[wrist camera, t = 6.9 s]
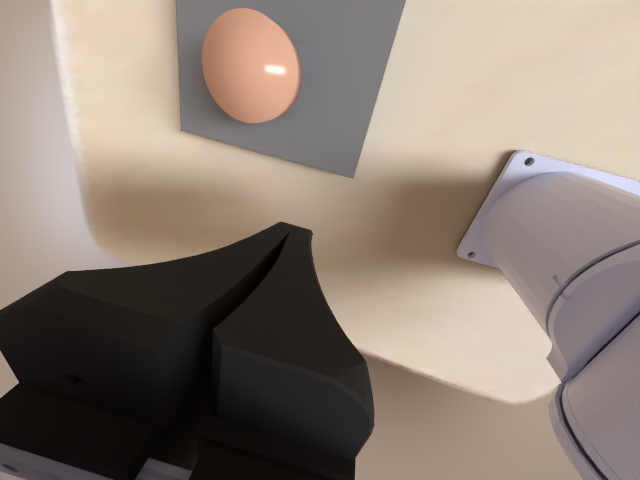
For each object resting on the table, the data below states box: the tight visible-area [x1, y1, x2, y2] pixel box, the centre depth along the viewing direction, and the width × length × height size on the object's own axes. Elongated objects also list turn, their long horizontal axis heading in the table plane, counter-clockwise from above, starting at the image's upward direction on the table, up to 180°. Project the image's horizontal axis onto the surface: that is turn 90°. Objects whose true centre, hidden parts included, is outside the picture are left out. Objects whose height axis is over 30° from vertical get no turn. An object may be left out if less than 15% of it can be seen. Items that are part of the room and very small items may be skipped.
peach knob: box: [202, 8, 303, 123], centre depth 15 cm, size 4×4×6 cm
